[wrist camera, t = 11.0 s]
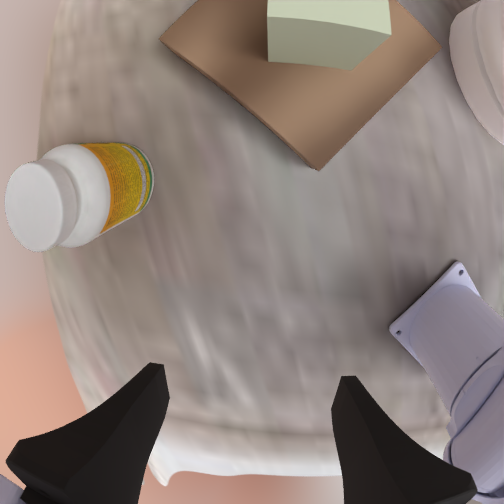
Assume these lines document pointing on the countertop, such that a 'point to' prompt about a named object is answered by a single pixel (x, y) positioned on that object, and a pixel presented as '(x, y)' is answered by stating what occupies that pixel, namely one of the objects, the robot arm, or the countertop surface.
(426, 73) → the countertop surface
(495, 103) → the honey pot
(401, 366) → the countertop surface
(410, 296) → the countertop surface
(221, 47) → the walnut base
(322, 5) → the sage block
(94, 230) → the supplement bottle
